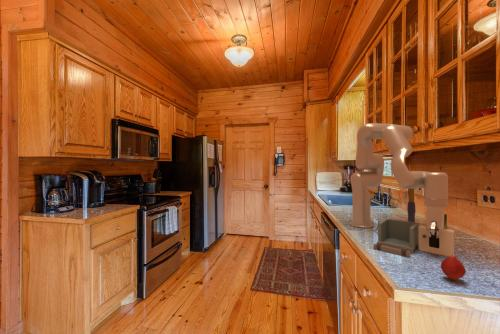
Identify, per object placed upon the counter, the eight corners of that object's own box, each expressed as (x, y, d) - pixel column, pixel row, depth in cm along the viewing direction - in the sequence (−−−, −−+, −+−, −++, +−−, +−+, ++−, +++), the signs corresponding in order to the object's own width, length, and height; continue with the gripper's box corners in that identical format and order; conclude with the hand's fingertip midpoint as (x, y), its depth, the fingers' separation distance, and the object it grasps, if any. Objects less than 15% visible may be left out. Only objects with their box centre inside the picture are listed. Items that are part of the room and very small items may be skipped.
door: (420, 248, 100) (420, 225, 100) (453, 255, 92) (454, 230, 92) (418, 250, 97) (418, 227, 97) (453, 258, 89) (453, 232, 89)
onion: (438, 279, 74) (438, 254, 74) (443, 273, 77) (443, 249, 77) (463, 286, 69) (463, 260, 69) (467, 280, 73) (467, 255, 72)
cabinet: (386, 238, 112) (386, 218, 112) (418, 245, 103) (418, 223, 103) (373, 249, 100) (373, 225, 99) (409, 257, 90) (409, 232, 90)
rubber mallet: (418, 231, 124) (418, 175, 123) (401, 228, 129) (401, 174, 128) (420, 226, 133) (420, 174, 133) (405, 224, 138) (405, 173, 137)
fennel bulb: (448, 238, 112) (448, 213, 112) (440, 239, 111) (440, 214, 111) (436, 234, 118) (436, 211, 118) (428, 235, 117) (428, 211, 117)
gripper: (428, 199, 103) (428, 237, 104) (420, 204, 91) (420, 247, 91) (450, 200, 98) (450, 241, 98) (445, 206, 86) (445, 252, 86)
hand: (435, 244), depth 95 cm, fingers open, 9 cm apart
